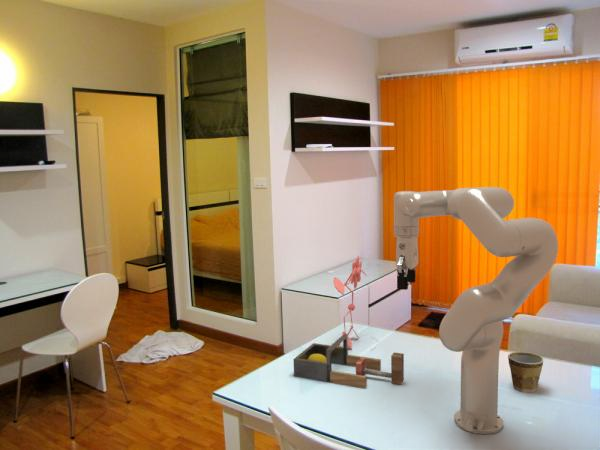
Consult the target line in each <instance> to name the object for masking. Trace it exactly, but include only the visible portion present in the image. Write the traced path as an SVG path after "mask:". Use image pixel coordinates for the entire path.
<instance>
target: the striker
mask: <svg viewBox="0 0 600 450" xmlns="http://www.w3.org/2000/svg"><path fill="white" fill-rule="evenodd" d="M404 355H405V354H404V353H401V352H395V351H394V352H393V353H392V354H391V356H390V357H391V359H390V362H391V363H390V365H391V368H390V369H391V371H390V372H388V371H381V370H380V371H379V370H372V369H366V358H362V357H363V356H362V357H361V358H360V359H359V360H358V361H357V363H356V367H355V374H356V375H362V376H366V375H369V376H374V377H375V376H376V377H383V378H388V379H391V382H390V383H391V384H399V385H402V384H403V382H404V379H405V377H404V375H405V372H404V371H405V370H404V369H405V367H404V366H405V365H404V364H405V357H404Z"/></svg>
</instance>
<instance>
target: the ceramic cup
mask: <svg viewBox="0 0 600 450" xmlns="http://www.w3.org/2000/svg"><path fill="white" fill-rule="evenodd" d="M507 358H508V359H507V360H508V365H509V369H510V375H511V381H512V387H513V389H514V390H515V391H517V392H521V393H525V394H532V393H534V392H536V391H537V389H538V385H539V381H540V376H541V373H542V369H543V365H544V357H542V356H540V355H539V354H537V353H534V352H533V353H532V352H528V351H513V352H510V353H509V354H508V356H507Z"/></svg>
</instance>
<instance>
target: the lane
mask: <svg viewBox="0 0 600 450" xmlns="http://www.w3.org/2000/svg"><path fill="white" fill-rule="evenodd" d="M361 357H362V358H366V369H369V370H375V371H381V369H382V364H381V363H382V359H380V358H374V357H369V356H368V357H367V356H360V355H355V354H348V355H347V365H346V366H348V367H355V368H356V363H357V361H358V360H359V359H360V358H361ZM367 378H368V377H367V376H366V375H364V376H362V375H356V373H347V372H344V371H336V370H332V371H331V372H330V382H329V383H332V384H336V385H343V386H349V387H353V388H354V387H355V388H360V389H367V388H368V385H367V384H368V379H367Z"/></svg>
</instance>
